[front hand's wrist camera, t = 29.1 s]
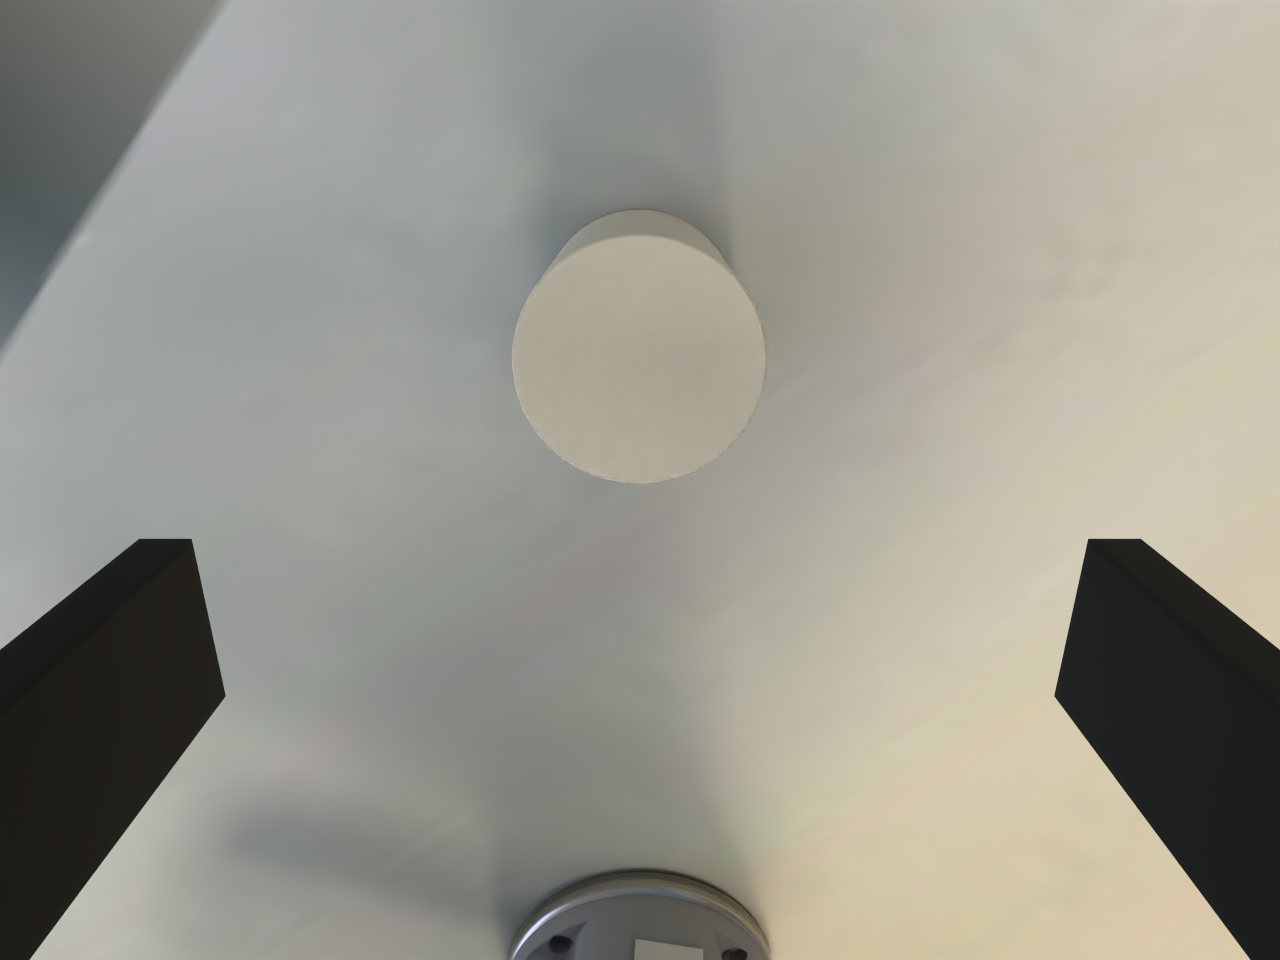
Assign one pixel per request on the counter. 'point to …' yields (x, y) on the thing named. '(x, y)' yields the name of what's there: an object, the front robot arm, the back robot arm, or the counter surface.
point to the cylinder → (639, 350)
